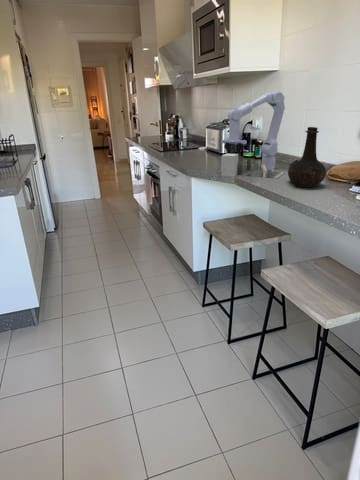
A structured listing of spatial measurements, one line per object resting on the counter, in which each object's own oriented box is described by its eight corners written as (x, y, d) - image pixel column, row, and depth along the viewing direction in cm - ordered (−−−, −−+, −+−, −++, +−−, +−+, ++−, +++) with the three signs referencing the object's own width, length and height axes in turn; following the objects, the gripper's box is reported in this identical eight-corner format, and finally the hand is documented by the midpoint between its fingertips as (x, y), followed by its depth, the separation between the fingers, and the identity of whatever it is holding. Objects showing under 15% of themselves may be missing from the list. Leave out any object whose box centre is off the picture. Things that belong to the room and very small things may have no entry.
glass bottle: (294, 179, 183) (300, 125, 172) (329, 184, 172) (337, 126, 161) (280, 186, 170) (286, 127, 159) (316, 191, 159) (325, 129, 149)
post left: (238, 176, 195) (239, 162, 192) (242, 176, 194) (243, 162, 191) (237, 176, 193) (237, 162, 190) (241, 177, 192) (241, 163, 189)
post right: (247, 171, 206) (247, 158, 203) (250, 171, 205) (251, 158, 202) (245, 172, 204) (246, 158, 201) (249, 172, 203) (250, 159, 200)
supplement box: (238, 176, 194) (239, 153, 190) (233, 178, 189) (234, 155, 184) (226, 175, 198) (226, 153, 193) (221, 177, 192) (221, 155, 187)
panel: (255, 172, 203) (255, 165, 202) (285, 174, 195) (286, 167, 193) (245, 178, 190) (245, 170, 188) (277, 180, 181) (278, 173, 180)
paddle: (265, 172, 193) (262, 164, 193) (267, 171, 193) (264, 163, 192) (263, 173, 191) (260, 165, 190) (265, 172, 190) (262, 164, 190)
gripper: (219, 132, 193) (219, 156, 198) (243, 133, 186) (242, 158, 191) (224, 131, 199) (224, 155, 204) (248, 131, 192) (247, 156, 197)
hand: (233, 156), depth 198 cm, fingers open, 4 cm apart
